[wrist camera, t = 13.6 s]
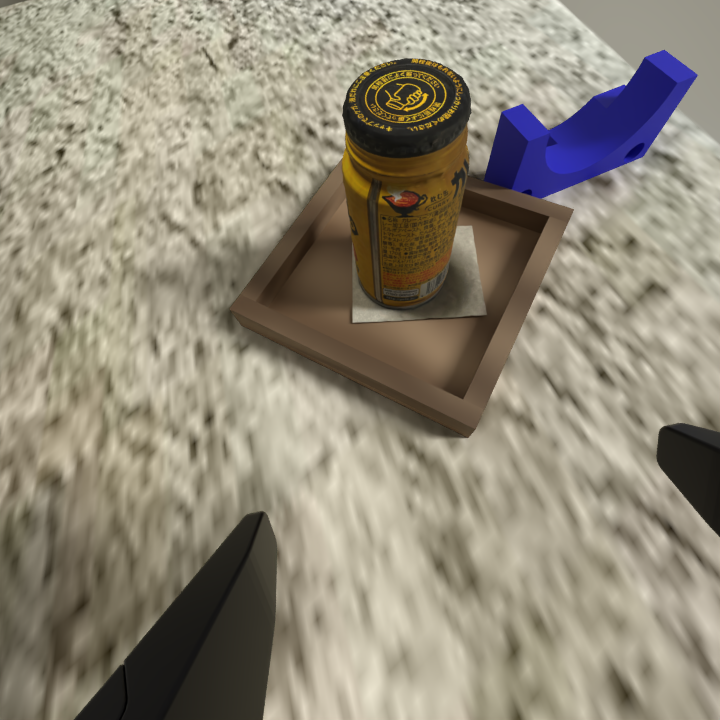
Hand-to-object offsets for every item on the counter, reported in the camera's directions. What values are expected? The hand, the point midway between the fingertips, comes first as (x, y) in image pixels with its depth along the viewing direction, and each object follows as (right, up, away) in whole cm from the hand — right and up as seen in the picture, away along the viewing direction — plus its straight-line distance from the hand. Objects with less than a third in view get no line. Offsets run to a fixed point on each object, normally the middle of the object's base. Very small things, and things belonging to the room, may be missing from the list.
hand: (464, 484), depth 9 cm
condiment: (+1, +9, +18) cm, 20 cm away
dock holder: (+1, +8, +18) cm, 20 cm away
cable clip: (+13, +18, +22) cm, 31 cm away
